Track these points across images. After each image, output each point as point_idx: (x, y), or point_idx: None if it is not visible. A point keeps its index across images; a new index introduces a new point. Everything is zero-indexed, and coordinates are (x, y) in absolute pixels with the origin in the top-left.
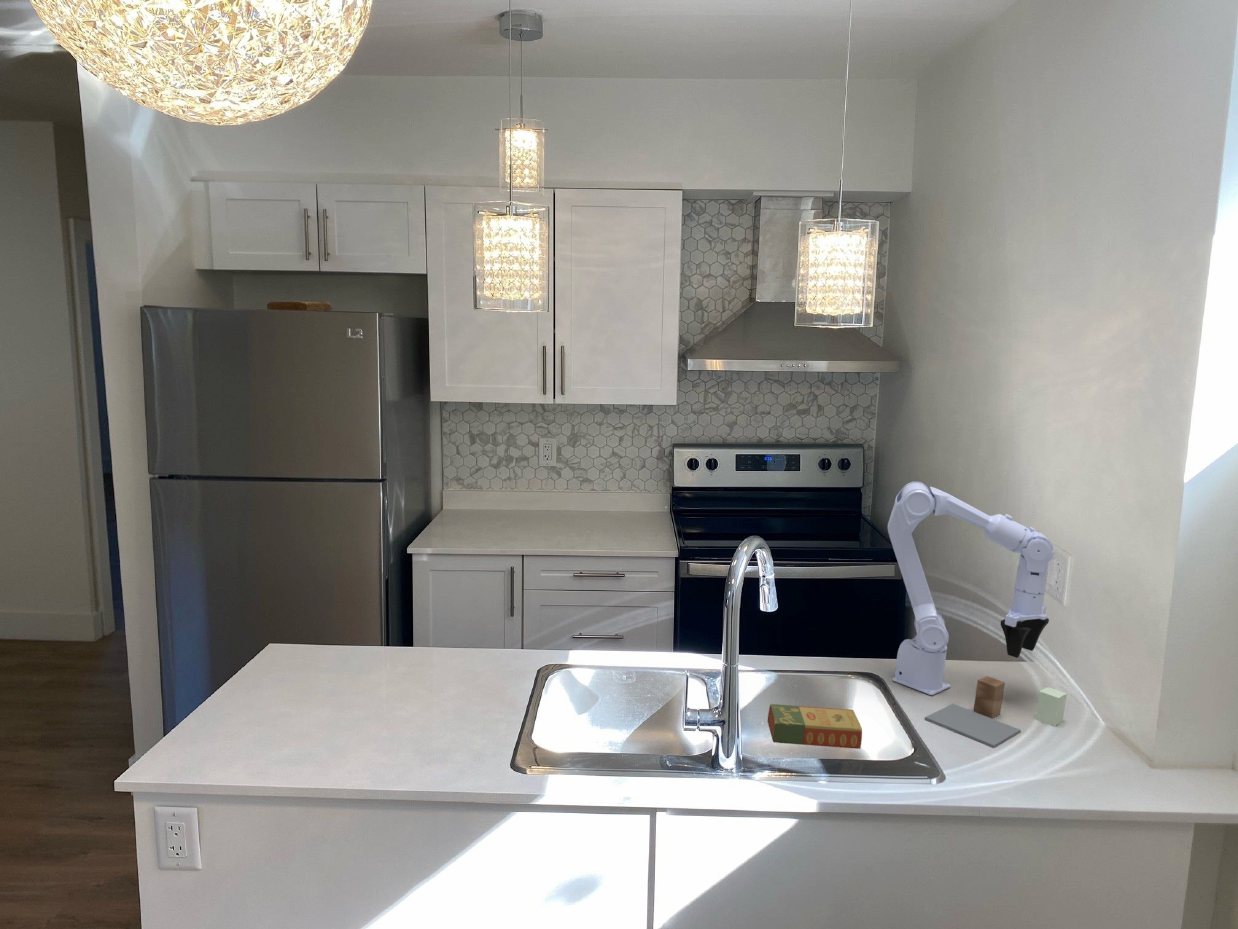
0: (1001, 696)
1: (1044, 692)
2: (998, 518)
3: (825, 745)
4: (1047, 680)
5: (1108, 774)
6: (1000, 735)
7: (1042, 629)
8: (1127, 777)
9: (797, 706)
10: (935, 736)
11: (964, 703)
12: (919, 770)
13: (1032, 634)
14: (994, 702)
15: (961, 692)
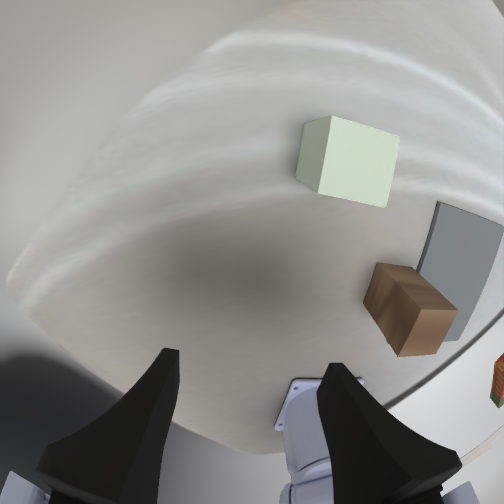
0: (407, 287)
1: (384, 190)
2: None
3: None
4: (49, 244)
5: (475, 43)
6: (477, 229)
7: (101, 426)
8: (460, 15)
9: (502, 398)
10: (494, 302)
11: (360, 334)
12: None
13: (155, 425)
14: (430, 286)
15: (302, 358)
